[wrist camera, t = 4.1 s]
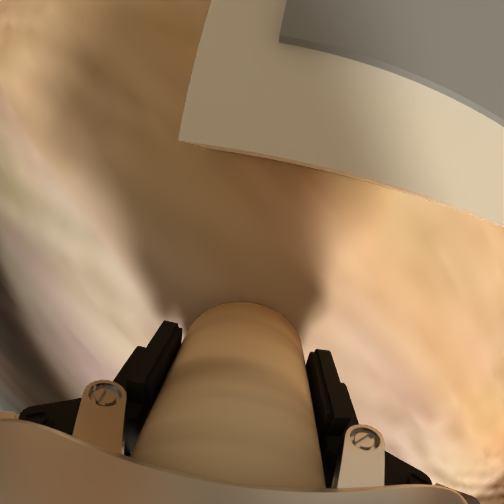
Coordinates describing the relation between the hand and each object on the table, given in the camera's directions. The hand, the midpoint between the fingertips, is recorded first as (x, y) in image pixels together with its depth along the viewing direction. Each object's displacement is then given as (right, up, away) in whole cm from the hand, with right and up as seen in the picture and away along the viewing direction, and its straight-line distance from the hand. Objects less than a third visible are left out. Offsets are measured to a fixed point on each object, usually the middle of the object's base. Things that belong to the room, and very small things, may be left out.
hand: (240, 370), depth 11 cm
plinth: (+7, +15, -3) cm, 17 cm away
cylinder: (0, 0, +1) cm, 1 cm away
